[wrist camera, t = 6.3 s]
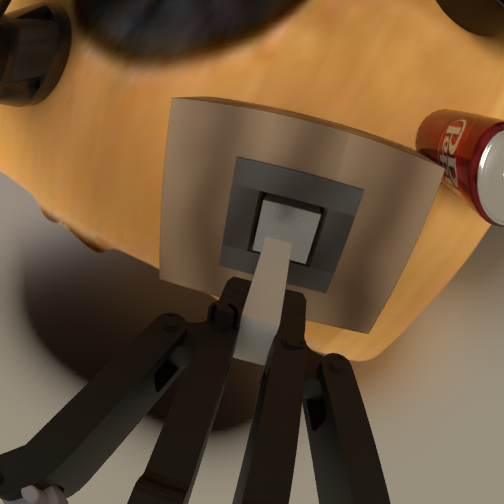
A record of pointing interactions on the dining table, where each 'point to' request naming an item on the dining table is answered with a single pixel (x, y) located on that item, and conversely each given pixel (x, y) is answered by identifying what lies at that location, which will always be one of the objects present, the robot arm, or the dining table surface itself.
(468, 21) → the mug
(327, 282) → the socket block
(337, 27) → the dining table surface
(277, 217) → the peg
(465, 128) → the soda can
